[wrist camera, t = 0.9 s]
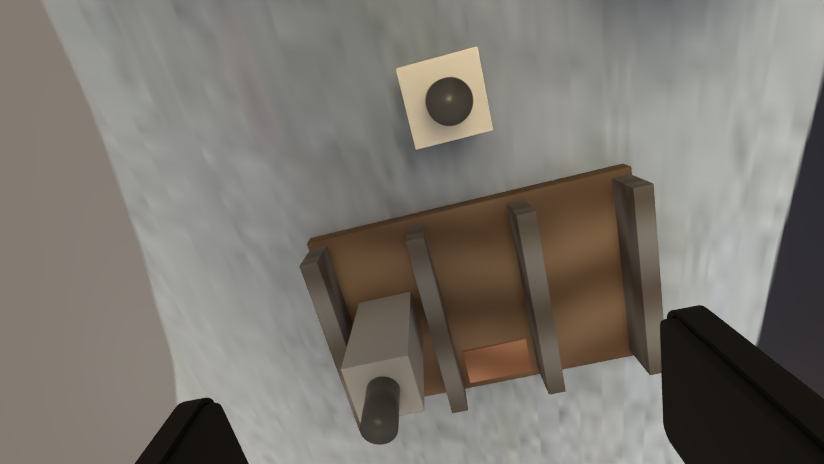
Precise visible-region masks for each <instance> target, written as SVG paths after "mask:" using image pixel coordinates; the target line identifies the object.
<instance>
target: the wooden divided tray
mask: <svg viewBox="0 0 824 464" xmlns="http://www.w3.org/2000/svg"><path fill="white" fill-rule="evenodd" d="M307 245H308V248H309V253H308V254H307V256H306V257H305V259H304V260H303V262H302V263H301V265H300V269H301V272H302V274H303V277H304V280H305V282H306V285H307V288H308V291H309V293H310V296H311V299H312V302H313V304H314V307H315V310H316V313H317V315H318V318H319V321H320V324H321V326H322V329H323V332H324V335H325V337H326V340H327V343H328V346H329V348H330V351H331V354H332V357H333V359H334V362H335V365H336V368H337V370H338V373H339V376H340V378H341V381H342V384H343V387H344V389H345V392H346V395H347V398H348V400H349V403H350V406H351V409H352V411H353V414H354V417H355V420H356V422H357V425H358V428H359V431H360V421H359V418H358V416H357V413H356V410H355V407H354V404H353V402H352V399H351V396H350V393H349V391H348V388H347V385H346V382H345V380H344V377H343V374H342V371H341V367H342V363H343V360H344V356H345V353H346V349H347V345H348V342H349V338H350V334H351V331H352V327H353V323H354V320H355V316H356V312H357V309H358V305H359V303H362V302H366V301H371V300H375V299H380V298H384V297H389V296H393V295H398V294H402V293H407V292H411V296H412V299H413V303H414V307H415V310H416V314H417V317H418V321H419V324H420V328H421V332H422V335H423V364H424V397H425V396H430V395H435V394H440V393H445V392H447V395H448V399H449V403H450V406H451V410H452V413H456V412H461V411H466V410H468V405H467V399H466V393H465V388H470V387H475V386H480V385H485V384H490V383H496V382H501V381H506V380H511V379H516V378H521V377H526V376H531V375H536V374H541V377H542V379H543V381H544V384H545V386H546V389H547V391H548V393H549V394H554V393H560V392H565V385H564V379H563V373H562V369H566V368H572V367H577V366H582V365H587V364H592V363H597V362H602V361H607V360H612V359H617V358H622V357H627V356H632V355H634V356H635V357H636V358H637V360H638V361H639V362H640V363H641V365H642V366H643V367H644V368H645V370H646V371H647V372H648V373H649V375H653V374H658V373H661V346H660V322H661V321H662V320H663V308H662V294H661V281H660V267H659V253H658V240H657V226H656V212H655V198H654V185H653V183H650V182H648V181H645V180H643V179H641V178H638V177H636V176H633V175H632V172H631V167H630V166H628V165H625V164H620V165H616V166H611V167H607V168H603V169H599V170H595V171H590V172H586V173H582V174H578V175H574V176H569V177H565V178H561V179H557V180H553V181H548V182H544V183H540V184H536V185H532V186H527V187H523V188H519V189H515V190H511V191H506V192H502V193H498V194H494V195H490V196H486V197H481V198H477V199H473V200H469V201H465V202H460V203H456V204H452V205H448V206H444V207H439V208H435V209H431V210H427V211H423V212H418V213H414V214H410V215H406V216H402V217H397V218H393V219H389V220H385V221H381V222H377V223H372V224H368V225H364V226H360V227H356V228H351V229H347V230H343V231H339V232H335V233H330V234H326V235H322V236H318V237H314V238H311V239H310V240H309V242H308V243H307Z"/></svg>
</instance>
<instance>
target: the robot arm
mask: <svg viewBox="0 0 824 464" xmlns="http://www.w3.org/2000/svg"><path fill="white" fill-rule="evenodd" d="M660 346H661V373H662V400H663V424H664V429H665V432H666V435H667V437H668V439H669V441H670V443H671V444H672V446H673V447H674V448H675V450H676V451H677V453H678V454H679V456H680V457H681V458H682V460H683V461H684V463H685V464H824V399H823V398H822V397H821V396H819V395H818V394H817V393H815V392H814V391H813V390H812V389H810V388H809V387H808V386H806V385H805V384H804V383H803V382H801V381H800V380H799V379H797V378H796V377H795V376H794V375H792V374H791V373H789V372H788V371H787V370H785V369H784V368H783V367H782V366H780V365H779V364H778V363H776V362H775V361H774V360H773V359H771V358H770V357H769V356H767V355H766V354H765V353H764V352H762V351H761V350H760V349H759V348H757V347H756V346H755V345H753V344H752V343H751V342H750V341H748V340H747V339H746V338H744V337H743V336H742V335H741V334H739V333H738V332H737V331H736V330H734V329H733V328H732V327H730V326H729V325H728V324H727V323H725V322H724V321H723V320H721V319H720V318H719V317H718V316H716V315H715V314H714V313H712V312H711V311H710V310H709V309H707V308H706V307H704V306H700V305H698V306H693V307H688V308H682V309H677V310H672V311H670V312H669V313H668V315H667V319H664V320H662V321H661V322H660ZM135 464H248V461H247V459H246V457H245V455H244V453H243V451H242V449H241V446H240V444H239V442H238V440H237V438H236V436H235V434H234V432H233V429H232V427H231V425H230V423H229V421H228V419H227V417H226V414H225V412H224V410H223V408H222V406H221V405H220V404H219V403H214V401H213V400H212V399H210V398H202V399H196V400H191V401H186V402H182V403H180V404H179V405H178V406H177V407H176V408H175V409H174V410H173V412H172V413H171V415H170V416H169V417H168V419H167V420H166V421H165V423H164V424H163V426H162V427H161V428H160V430H159V431H158V432H157V434H156V435H155V436H154V438H153V439H152V441H151V442H150V443H149V445H148V446H147V447H146V449H145V450H144V452H143V453H142V454H141V456H140V457H139V459H138V460H137V461H136V463H135Z"/></svg>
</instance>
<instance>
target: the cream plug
mask: <svg viewBox="0 0 824 464" xmlns="http://www.w3.org/2000/svg"><path fill="white" fill-rule="evenodd" d="M396 72H397V76H398V80H399V84H400V88H401V92H402V96H403V100H404V104H405V108H406V112H407V116H408V120H409V124H410V128H411V132H412V136H413V140H414V144H415V149H416V150H417V149H421V148H425V147H429V146H433V145H437V144H441V143H445V142H449V141H453V140H457V139H461V138H465V137H468V136H472V135H476V134H480V133H484V132H488V131H492V130H493V127H492V122H491V116H490V111H489V106H488V100H487V95H486V90H485V84H484V79H483V74H482V68H481V63H480V58H479V52H478V47H473V48H469V49H466V50H462V51H458V52H455V53H451V54H447V55H444V56H440V57H436V58H433V59H429V60H425V61H422V62H418V63H414V64H411V65H407V66H403V67H399V68H396Z"/></svg>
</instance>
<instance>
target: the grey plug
mask: <svg viewBox="0 0 824 464" xmlns="http://www.w3.org/2000/svg"><path fill="white" fill-rule="evenodd" d="M341 371H342V374H343V377H344V380H345V382H346V385H347V388H348V391H349V393H350V396H351V399H352V402H353V404H354V407H355V410H356V413H357V416H358V418H359V421H360V433H361V435H362V437H363V438H364V439H365V440H367V441H368V442H370V443H373V444H386V443H389V442H391V441H392V440H393V439H394V438H395V437H396V436H397V433H398V422H399V416H401V415H406V414H411V413H417V412H422V411H424V364H423V335H422V332H421V328H420V324H419V321H418V317H417V314H416V310H415V307H414V303H413V299H412V296H411V292H407V293H402V294H398V295H393V296H389V297H384V298H380V299H375V300H371V301H366V302H362V303H359V305H358V309H357V312H356V316H355V320H354V323H353V327H352V331H351V334H350V338H349V342H348V345H347V349H346V353H345V356H344V360H343V363H342V367H341Z"/></svg>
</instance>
